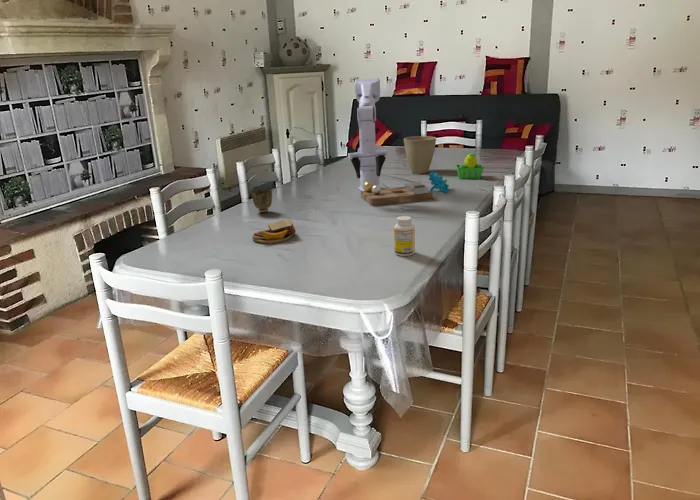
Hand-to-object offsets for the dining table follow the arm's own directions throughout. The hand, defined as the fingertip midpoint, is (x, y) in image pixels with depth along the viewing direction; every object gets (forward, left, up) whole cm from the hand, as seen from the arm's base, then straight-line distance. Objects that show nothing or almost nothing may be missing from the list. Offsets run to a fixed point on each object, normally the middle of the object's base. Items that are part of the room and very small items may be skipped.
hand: (368, 176), depth 208 cm
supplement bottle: (+59, -7, -10) cm, 60 cm away
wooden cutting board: (-2, +12, -10) cm, 15 cm away
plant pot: (-46, +39, -10) cm, 61 cm away
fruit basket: (-25, +54, -10) cm, 60 cm away
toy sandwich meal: (+30, -40, -10) cm, 51 cm away
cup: (-2, -39, -10) cm, 41 cm away
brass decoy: (-7, +2, -5) cm, 10 cm away
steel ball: (-2, +4, -6) cm, 7 cm away
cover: (-1, +19, -7) cm, 20 cm away
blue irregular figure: (-7, +31, -10) cm, 34 cm away
